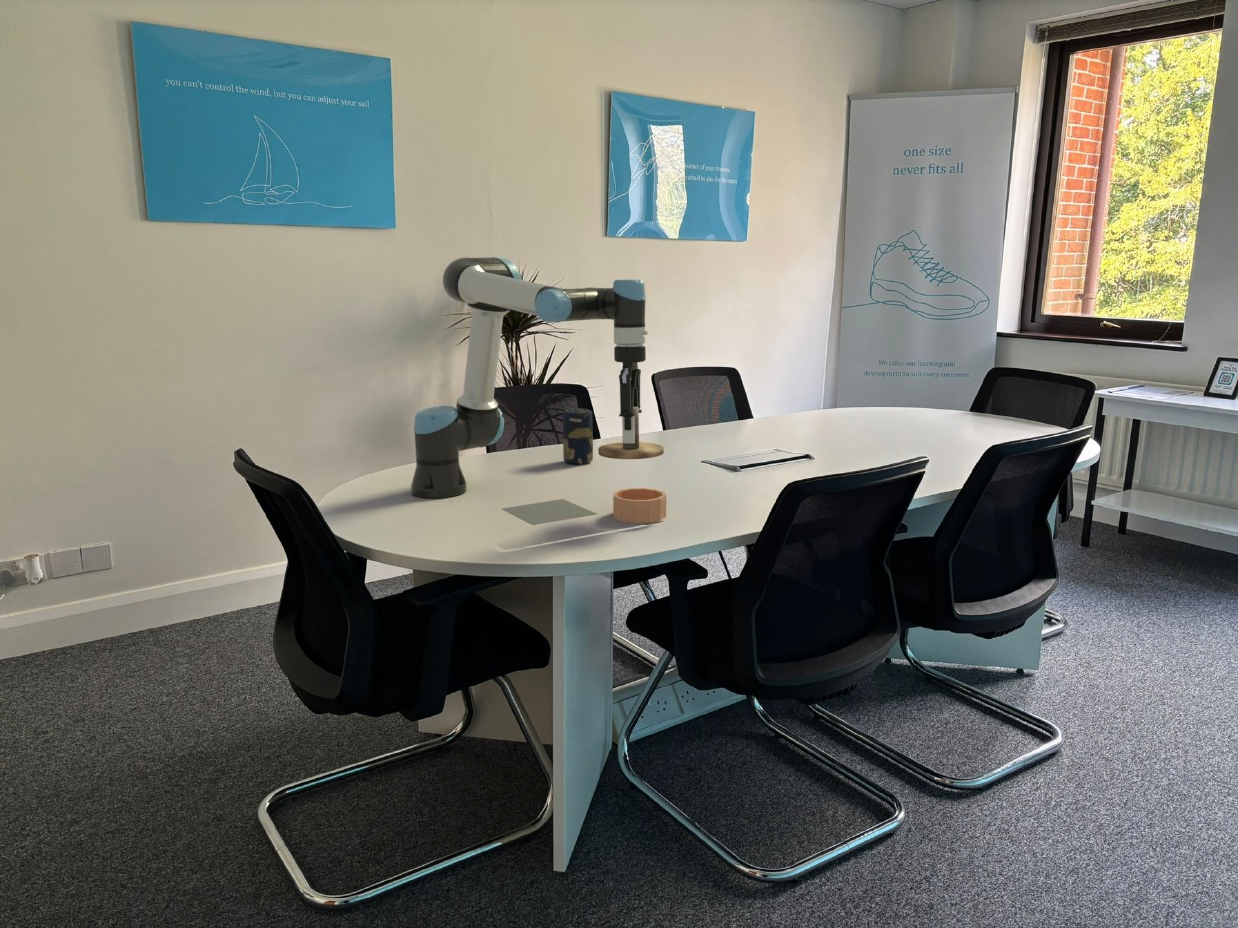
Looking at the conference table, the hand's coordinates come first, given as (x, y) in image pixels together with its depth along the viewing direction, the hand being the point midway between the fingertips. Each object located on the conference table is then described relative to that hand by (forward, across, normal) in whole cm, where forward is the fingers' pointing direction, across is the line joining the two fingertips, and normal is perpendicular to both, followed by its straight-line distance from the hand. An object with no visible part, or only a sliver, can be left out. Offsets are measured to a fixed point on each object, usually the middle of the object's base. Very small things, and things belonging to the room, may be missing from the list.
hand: (630, 441), depth 220 cm
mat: (+19, 0, +22) cm, 29 cm away
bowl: (+19, 0, -2) cm, 20 cm away
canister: (+19, +61, +31) cm, 71 cm away
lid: (+3, 0, 0) cm, 3 cm away
